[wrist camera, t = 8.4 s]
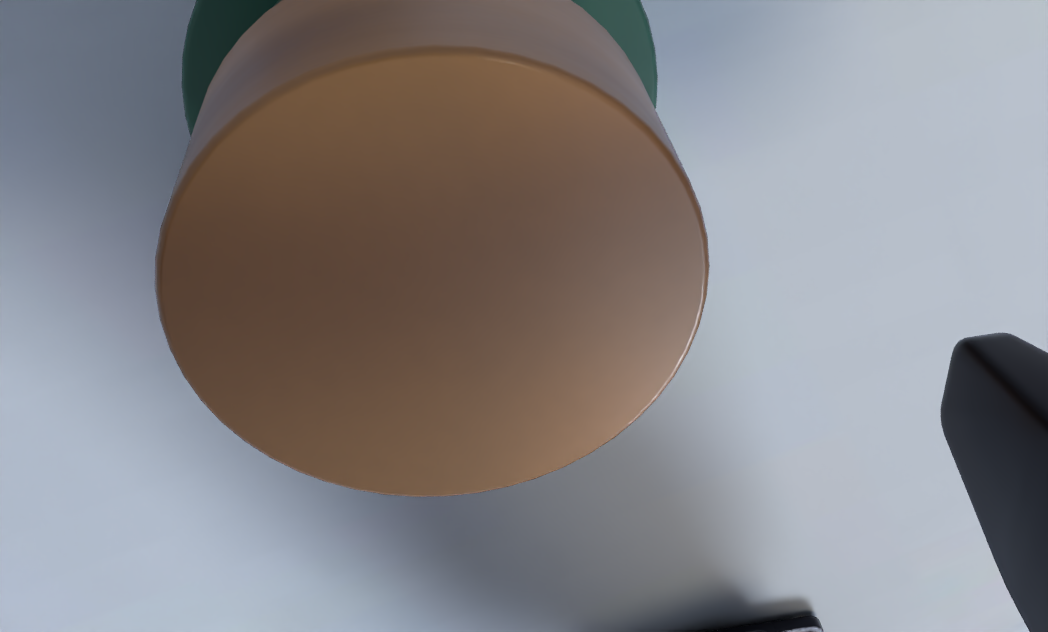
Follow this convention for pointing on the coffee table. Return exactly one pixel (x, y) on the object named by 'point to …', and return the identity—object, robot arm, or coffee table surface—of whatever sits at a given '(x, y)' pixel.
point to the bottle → (238, 3)
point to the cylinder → (429, 243)
